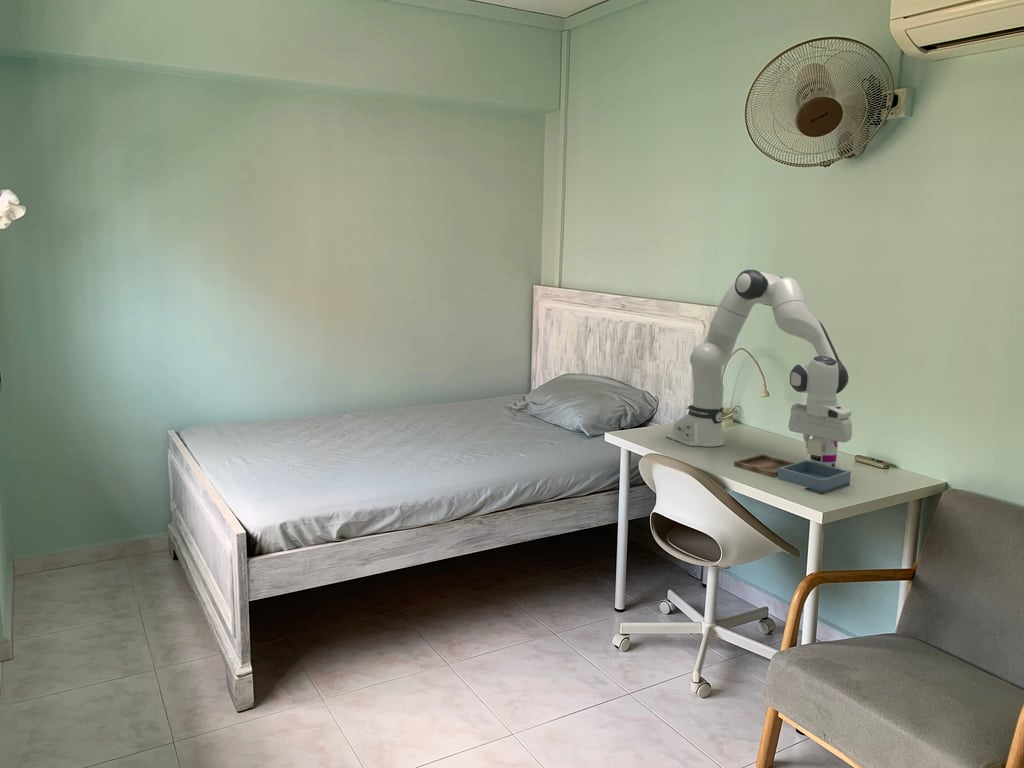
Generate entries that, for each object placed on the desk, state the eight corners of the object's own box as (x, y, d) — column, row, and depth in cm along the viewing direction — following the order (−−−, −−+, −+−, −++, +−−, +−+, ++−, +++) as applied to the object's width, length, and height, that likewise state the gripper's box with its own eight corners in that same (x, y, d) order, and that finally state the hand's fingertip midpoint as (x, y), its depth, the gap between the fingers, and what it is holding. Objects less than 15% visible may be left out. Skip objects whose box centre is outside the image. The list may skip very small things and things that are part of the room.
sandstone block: (806, 453, 256) (807, 439, 255) (814, 451, 258) (815, 437, 258) (819, 456, 252) (820, 442, 251) (827, 454, 255) (828, 440, 254)
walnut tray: (733, 468, 271) (734, 461, 271) (761, 461, 281) (761, 454, 281) (774, 480, 259) (775, 473, 259) (802, 472, 269) (802, 465, 268)
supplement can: (836, 466, 276) (841, 424, 274) (832, 472, 269) (837, 429, 267) (812, 462, 280) (816, 421, 278) (807, 468, 273) (811, 426, 271)
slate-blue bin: (777, 481, 258) (778, 468, 258) (804, 472, 268) (805, 460, 267) (822, 494, 246) (823, 480, 245) (849, 485, 256) (850, 471, 255)
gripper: (786, 403, 259) (783, 444, 261) (845, 415, 243) (841, 458, 245) (797, 401, 262) (793, 441, 265) (856, 412, 247) (852, 455, 249)
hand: (817, 450), depth 255 cm, fingers closed on sandstone block, 4 cm apart
